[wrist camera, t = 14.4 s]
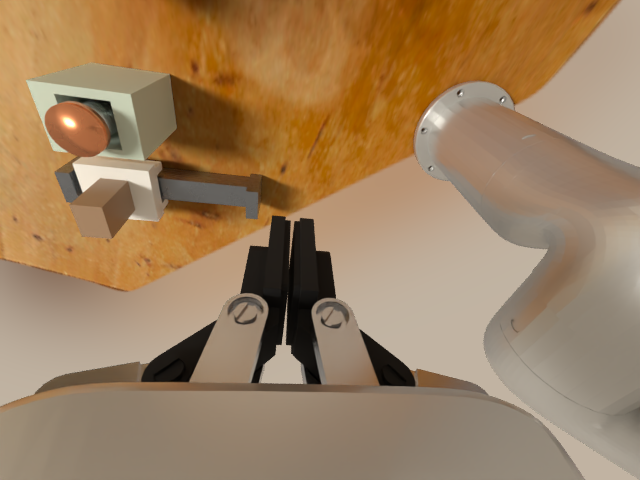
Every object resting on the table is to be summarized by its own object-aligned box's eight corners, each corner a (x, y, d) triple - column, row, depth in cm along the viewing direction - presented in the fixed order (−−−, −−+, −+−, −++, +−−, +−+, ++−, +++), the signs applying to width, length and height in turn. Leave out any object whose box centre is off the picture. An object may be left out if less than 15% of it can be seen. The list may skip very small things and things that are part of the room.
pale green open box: (169, 74, 34) (130, 94, 26) (177, 128, 37) (144, 160, 29) (91, 62, 33) (25, 79, 25) (106, 119, 36) (53, 150, 28)
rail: (261, 174, 42) (258, 192, 38) (261, 200, 44) (257, 219, 40) (79, 155, 39) (54, 171, 35) (88, 183, 41) (66, 202, 37)
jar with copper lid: (126, 92, 29) (96, 108, 24) (136, 138, 31) (110, 160, 27) (76, 85, 28) (35, 100, 24) (90, 133, 31) (56, 154, 26)
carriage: (160, 157, 38) (124, 197, 30) (168, 205, 42) (139, 251, 34) (91, 150, 37) (35, 188, 29) (106, 200, 41) (61, 245, 33)
